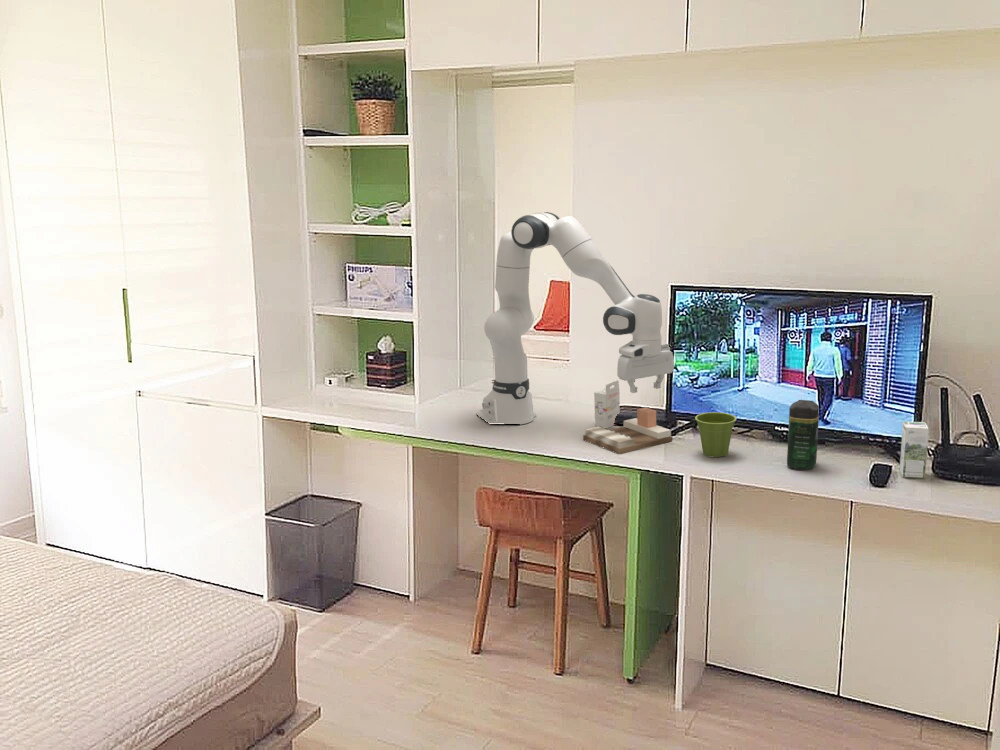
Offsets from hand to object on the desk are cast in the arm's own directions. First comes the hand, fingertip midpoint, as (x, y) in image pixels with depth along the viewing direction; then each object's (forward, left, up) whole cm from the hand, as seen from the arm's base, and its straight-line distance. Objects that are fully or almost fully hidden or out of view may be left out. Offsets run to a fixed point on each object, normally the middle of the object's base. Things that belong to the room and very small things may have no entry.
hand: (645, 390), depth 294 cm
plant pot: (+26, +5, -15) cm, 31 cm away
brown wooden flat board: (0, -7, -15) cm, 17 cm away
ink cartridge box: (-18, -1, -15) cm, 23 cm away
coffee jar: (+48, +17, -15) cm, 53 cm away
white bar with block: (0, 0, -13) cm, 13 cm away
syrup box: (+71, +34, -15) cm, 80 cm away
